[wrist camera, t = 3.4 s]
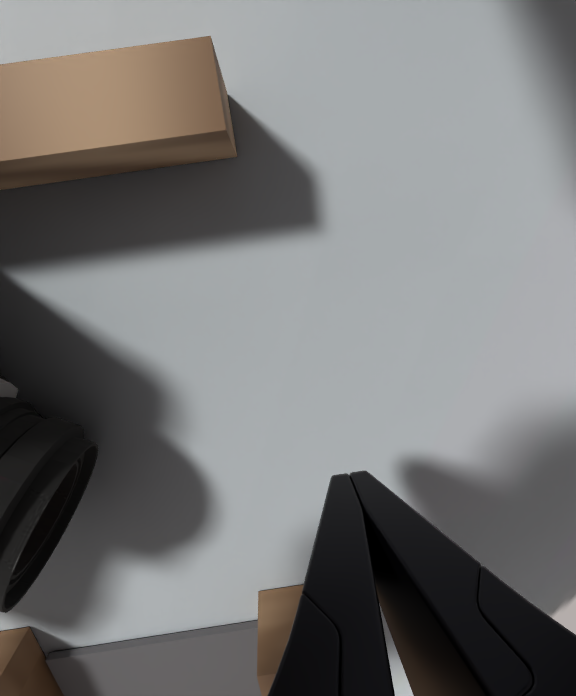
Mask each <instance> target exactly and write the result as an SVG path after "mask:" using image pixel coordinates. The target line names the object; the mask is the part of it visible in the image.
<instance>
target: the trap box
mask: <svg viewBox="0 0 576 696" xmlns="http://www.w3.org/2000/svg"><path fill="white" fill-rule="evenodd" d="M233 157H237V151H236V145H235V139H234V133H233V127H232V120H231V114H230V108H229V102H228V96H227V91H226V87H225V84H224V81H223V77H222V74H221V70H220V67H219V63H218V60H217V57H216V53H215V50H214V46H213V43H212V39H211V36H207V37H199V38H192V39H185V40H177V41H170V42H163V43H155V44H148V45H141V46H133V47H126V48H119V49H111V50H104V51H96V52H89V53H82V54H74V55H67V56H60V57H52V58H45V59H38V60H30V61H23V62H16V63H8V64H1V65H0V190H5V189H12V188H19V187H26V186H33V185H40V184H47V183H54V182H62V181H69V180H76V179H83V178H90V177H97V176H104V175H112V174H119V173H126V172H133V171H140V170H147V169H154V168H162V167H169V166H176V165H183V164H190V163H197V162H204V161H212V160H219V159H226V158H233ZM302 589H303V585H297V586H291V587H284V588H278V589H271V590H265V591H259V592H258V644H257V679H258V683H259V687H260V691H261V695H262V696H267V695H268V693H269V690H270V688H271V685H272V683H273V680H274V678H275V675H276V673H277V670H278V667H279V664H280V662H281V659H282V656H283V653H284V650H285V648H286V645H287V642H288V639H289V636H290V632H291V629H292V625H293V622H294V619H295V615H296V612H297V608H298V604H299V600H300V596H301V595H302ZM45 660H46V657H45V656H44V654H43V652H42V650H41V648H40V646H39V644H38V642H37V640H36V639H35V637H34V635H33V633H32V631H31V629H30V627H26V628H19V629H13V630H6V631H0V696H64V695H63V693H62V691H61V689H60V687H59V685H58V684H57V682H56V680H55V678H54V676H53V674H52V672H51V670H50V669H49V667H48V665H47V663H46V661H45Z"/></svg>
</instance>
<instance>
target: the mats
mask: <svg viewBox="0 0 576 696" xmlns="http://www.w3.org/2000/svg"><path fill="white" fill-rule="evenodd" d="M257 644H258V620H256V621H250V622H243V623H237V624H231V625H224V626H218V627H211V628H205V629H198V630H192V631H186V632H179V633H173V634H166V635H160V636H153V637H147V638H141V639H134V640H128V641H121V642H115V643H109V644H102V645H96V646H89V647H83V648H76V649H70V650H64V651H57V652H51V653H49V654H48V656H47V658H46V660H45V661H46V663H47V665H48V667H49V669H50V670H51V672H52V674H53V676H54V678H55V680H56V682H57V684H58V685H59V687H60V689H61V691H62V693H63V695H64V696H262V695H261V691H260V687H259V683H258V679H257Z"/></svg>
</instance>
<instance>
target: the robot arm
mask: <svg viewBox="0 0 576 696" xmlns="http://www.w3.org/2000/svg"><path fill="white" fill-rule="evenodd" d="M379 603H380V606H381V608H382V611H383V614H384V616H385V619H386V622H387V625H388V627H389V630H390V633H391V635H392V638H393V641H394V644H395V646H396V649H397V652H398V654H399V657H400V660H401V662H402V665H403V668H404V671H405V673H406V676H407V679H408V681H409V684H410V687H411V689H412V692H413V695H414V696H576V635H575V634H574V633H572V632H571V631H569V630H568V629H566V628H565V627H564V626H562V625H561V624H559V623H558V622H556V621H555V620H554V619H552V618H551V617H549V616H548V615H547V614H545V613H544V612H542V611H541V610H540V609H538V608H537V607H535V606H534V605H533V604H531V603H530V602H529V601H527V600H526V599H525V598H523V597H522V596H521V595H519V594H518V593H517V592H516V591H514V590H513V589H512V588H510V587H509V586H508V585H507V584H505V583H504V582H503V581H501V580H500V579H499V578H498V577H497V576H495V575H494V574H493V573H492V572H490V571H489V570H488V569H487V568H485V567H484V566H482V567H481V564H480V563H479V562H478V561H477V560H475V559H474V558H473V557H472V556H470V555H469V554H468V553H467V552H466V551H464V550H463V549H462V548H461V547H459V546H458V545H457V544H456V543H454V542H453V541H452V540H451V539H450V538H448V537H447V536H446V535H445V534H443V533H442V532H441V531H440V530H438V529H437V528H436V527H435V526H434V525H432V524H431V523H430V522H429V521H427V520H426V519H425V518H424V517H423V516H421V515H420V514H419V513H418V512H416V511H415V510H414V509H413V508H411V507H410V506H409V505H408V504H407V503H405V502H404V501H403V500H402V499H400V498H399V497H398V496H397V495H395V494H394V493H393V492H392V491H391V490H389V489H388V488H387V487H386V486H384V485H383V484H382V483H381V482H380V481H378V480H377V479H376V478H375V477H373V476H372V475H371V474H370V473H368V472H367V471H358V472H352V473H350V475H348V474H346V473H345V474H339V475H333V476H332V477H331V480H330V484H329V488H328V491H327V495H326V499H325V503H324V507H323V511H322V515H321V519H320V523H319V527H318V531H317V534H316V538H315V542H314V546H313V550H312V554H311V558H310V562H309V566H308V570H307V573H306V577H305V581H304V585H303V589H302V595H301V596H300V600H299V604H298V608H297V612H296V615H295V619H294V622H293V625H292V629H291V632H290V636H289V639H288V642H287V645H286V648H285V650H284V653H283V656H282V659H281V662H280V664H279V667H278V670H277V673H276V675H275V678H274V680H273V683H272V685H271V688H270V690H269V693H268V695H267V696H395V694H394V688H393V682H392V676H391V670H390V665H389V659H388V653H387V647H386V641H385V635H384V629H383V624H382V618H381V612H380V606H379Z"/></svg>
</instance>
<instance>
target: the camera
mask: <svg viewBox="0 0 576 696" xmlns="http://www.w3.org/2000/svg"><path fill="white" fill-rule="evenodd" d="M17 392H18V389H17V388H16V387H15V386H14V385H13V384H11V383H9V382H8V381H7V380H6V379H5V378H4V377H3V376H1V375H0V612H5V613H6V612H8V611H10V610H11V609H12V608H13V607H14V606H15V605H16V604H17V603H18V602H19V601H20V600H21V598H22V597H23V596H24V595H25V594H26V592H27V591H28V589H29V588H30V587H31V585H32V584H33V583H34V581H35V580H36V578H37V577H38V575H39V574H40V572H41V571H42V569H43V567H44V566H45V564H46V563H47V561H48V559H49V558H50V556H51V554H52V553H53V551H54V549H55V548H56V546H57V544H58V542H59V541H60V539H61V537H62V535H63V533H64V532H65V530H66V528H67V526H68V524H69V522H70V520H71V518H72V516H73V514H74V512H75V510H76V508H77V506H78V504H79V502H80V500H81V498H82V496H83V493H84V491H85V489H86V486H87V484H88V482H89V479H90V477H91V474H92V471H93V468H94V465H95V462H96V459H97V454H98V445H97V444H96V443H94V442H91V441H88V440H85V439H84V429H83V428H82V426H80V425H77V424H74V423H71V422H68V421H65V420H62V419H59V418H57V417H50V418H47V419H44V418H41V416H40V415H39V414H37V413H36V411H35V409H34V407H33V406H32V405H31V404H30V403H28V402H25V401H22V400H19V399H16V396H17Z"/></svg>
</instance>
